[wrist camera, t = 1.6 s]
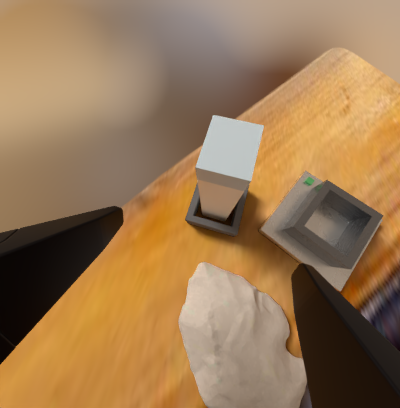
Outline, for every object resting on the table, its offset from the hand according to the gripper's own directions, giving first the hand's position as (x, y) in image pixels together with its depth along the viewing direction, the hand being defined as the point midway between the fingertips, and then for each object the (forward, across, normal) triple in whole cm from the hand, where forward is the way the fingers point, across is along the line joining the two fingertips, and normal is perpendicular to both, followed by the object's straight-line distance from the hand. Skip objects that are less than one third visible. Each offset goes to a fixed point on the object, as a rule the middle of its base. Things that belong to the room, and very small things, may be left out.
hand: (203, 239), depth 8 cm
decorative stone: (+4, -5, +14) cm, 16 cm away
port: (+13, -12, +4) cm, 18 cm away
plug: (+12, 0, +5) cm, 13 cm away
